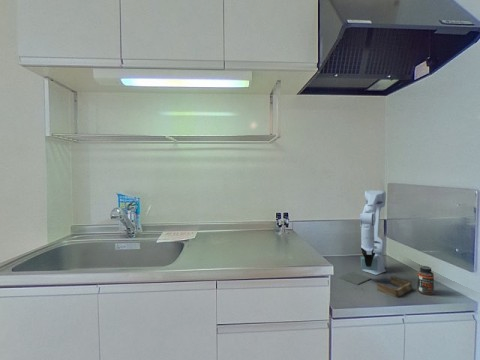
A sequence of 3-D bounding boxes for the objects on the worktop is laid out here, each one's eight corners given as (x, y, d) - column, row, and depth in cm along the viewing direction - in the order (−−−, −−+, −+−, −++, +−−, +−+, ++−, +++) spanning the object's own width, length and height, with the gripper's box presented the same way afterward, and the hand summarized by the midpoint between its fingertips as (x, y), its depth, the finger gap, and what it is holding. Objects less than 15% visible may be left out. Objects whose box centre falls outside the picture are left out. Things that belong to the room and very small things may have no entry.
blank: (360, 266, 133) (360, 256, 133) (376, 267, 131) (376, 257, 131) (361, 269, 130) (361, 259, 129) (377, 270, 127) (377, 260, 127)
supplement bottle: (421, 295, 116) (421, 269, 115) (414, 289, 121) (414, 264, 121) (436, 295, 115) (436, 269, 114) (429, 289, 121) (428, 264, 120)
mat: (353, 273, 142) (353, 271, 142) (371, 279, 133) (371, 278, 133) (339, 278, 136) (339, 277, 136) (357, 285, 127) (357, 283, 127)
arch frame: (391, 282, 128) (391, 276, 128) (411, 289, 121) (411, 283, 121) (377, 290, 122) (377, 283, 122) (397, 297, 114) (397, 290, 114)
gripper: (378, 241, 122) (379, 271, 122) (375, 234, 135) (375, 260, 136) (361, 240, 124) (362, 269, 125) (359, 233, 138) (360, 259, 138)
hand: (368, 264), depth 130 cm, fingers closed on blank, 4 cm apart
